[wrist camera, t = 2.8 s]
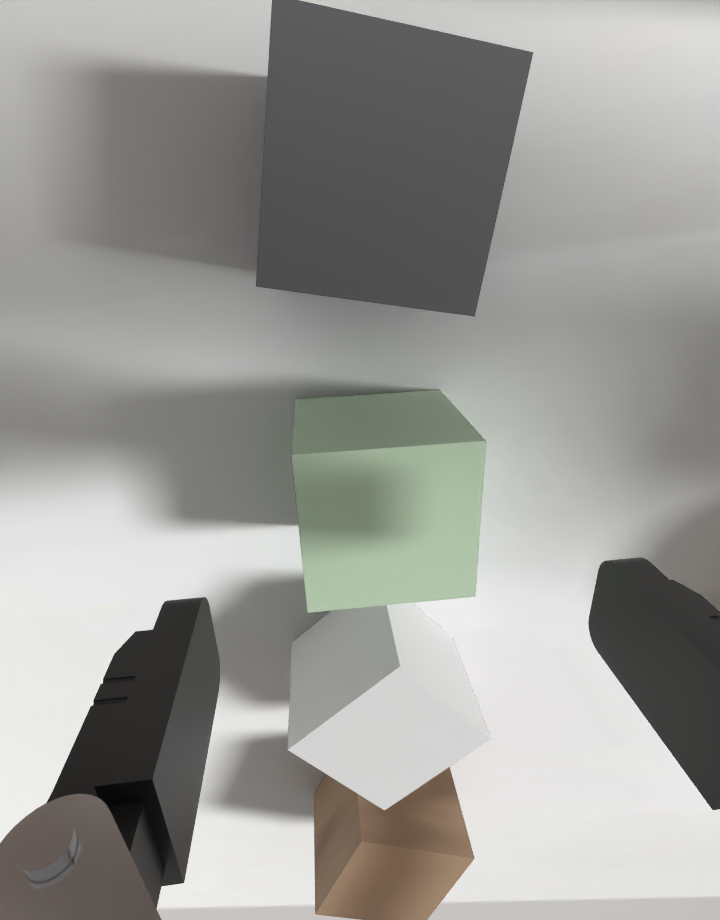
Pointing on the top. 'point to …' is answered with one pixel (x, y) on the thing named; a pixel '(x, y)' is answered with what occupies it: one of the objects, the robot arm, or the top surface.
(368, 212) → the charcoal block
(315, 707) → the grey block
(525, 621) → the top surface
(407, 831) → the walnut block
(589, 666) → the top surface
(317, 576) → the sage block
